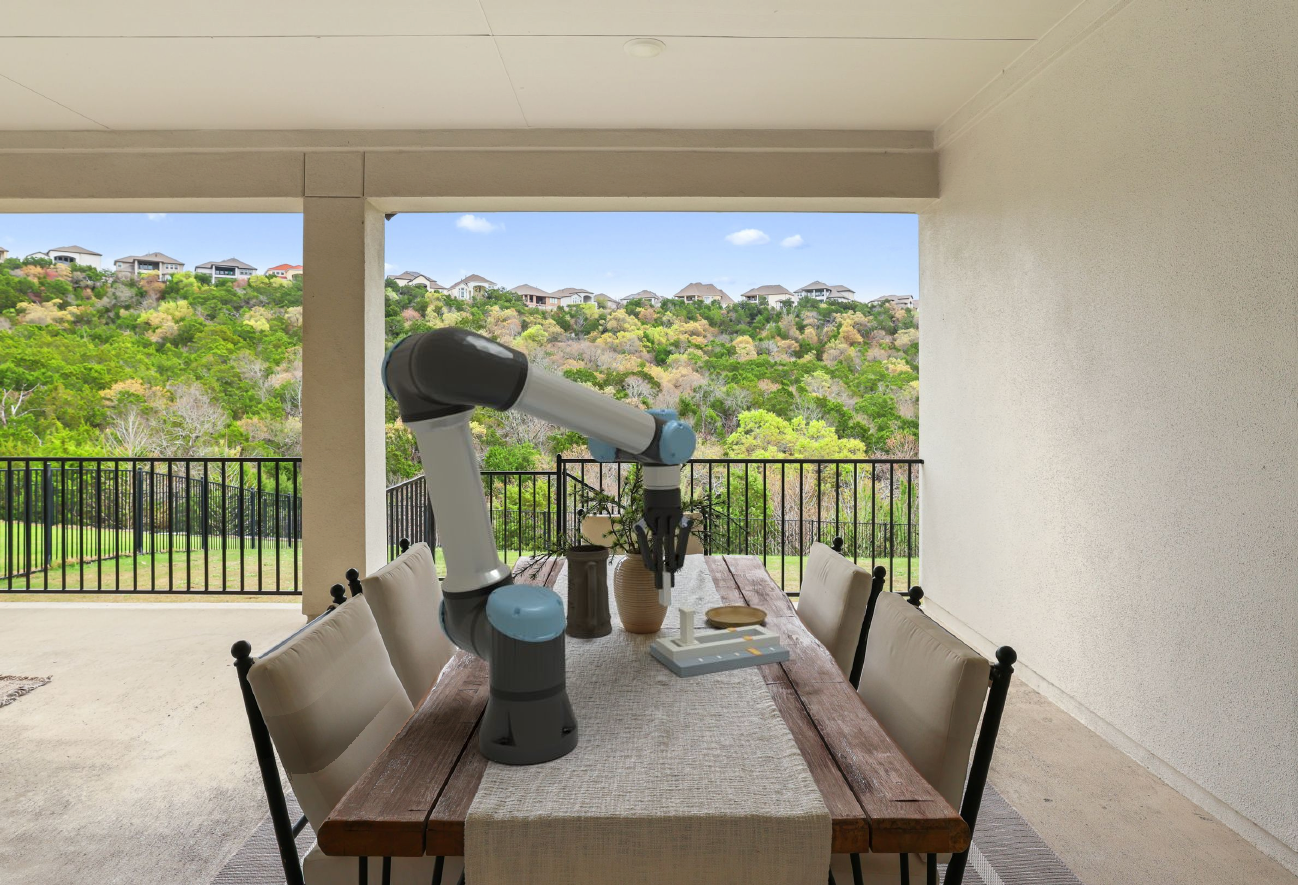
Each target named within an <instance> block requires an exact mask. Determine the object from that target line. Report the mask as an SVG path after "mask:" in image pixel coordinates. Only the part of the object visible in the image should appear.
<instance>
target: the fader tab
mask: <svg viewBox="0 0 1298 885" xmlns="http://www.w3.org/2000/svg"><path fill="white" fill-rule="evenodd" d="M678 613H679V629H680V631H679V633H680V634H679V636H680V640H674V644H675V645H676V646H678V647H684V646H690V645H697V644H700V643H699V642H698V641H696V640H694V634H695V615H696V610H695V609H693V608H691V607H689V606H681V607H678Z"/></svg>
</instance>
